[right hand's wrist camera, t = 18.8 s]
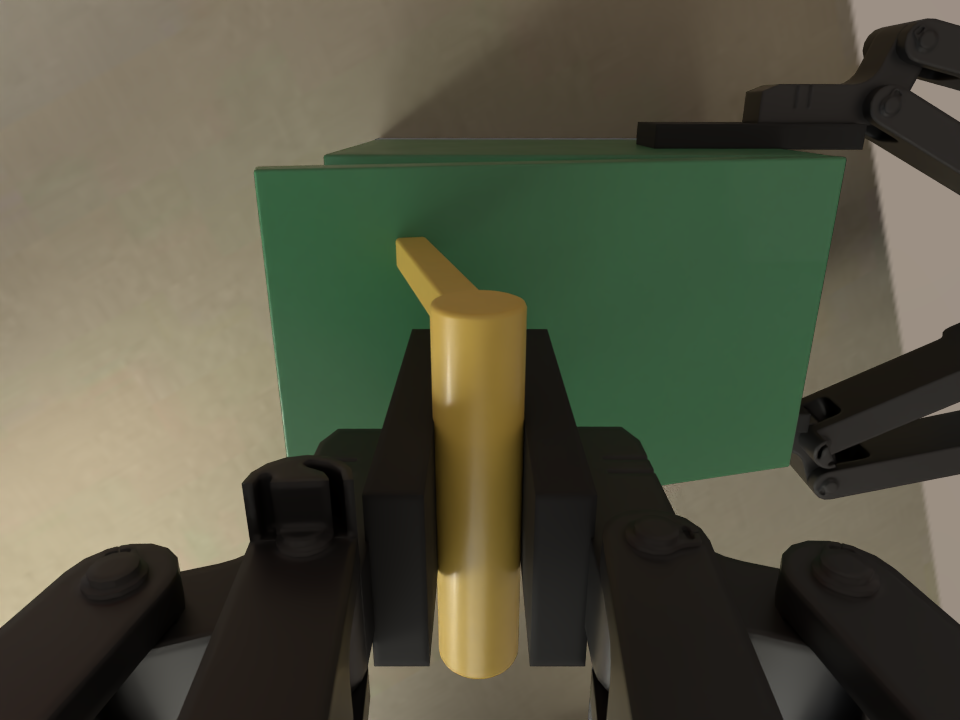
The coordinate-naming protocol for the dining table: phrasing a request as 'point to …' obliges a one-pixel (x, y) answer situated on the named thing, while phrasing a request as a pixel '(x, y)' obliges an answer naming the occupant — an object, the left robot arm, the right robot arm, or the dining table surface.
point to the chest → (521, 151)
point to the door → (546, 325)
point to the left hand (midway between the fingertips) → (633, 281)
